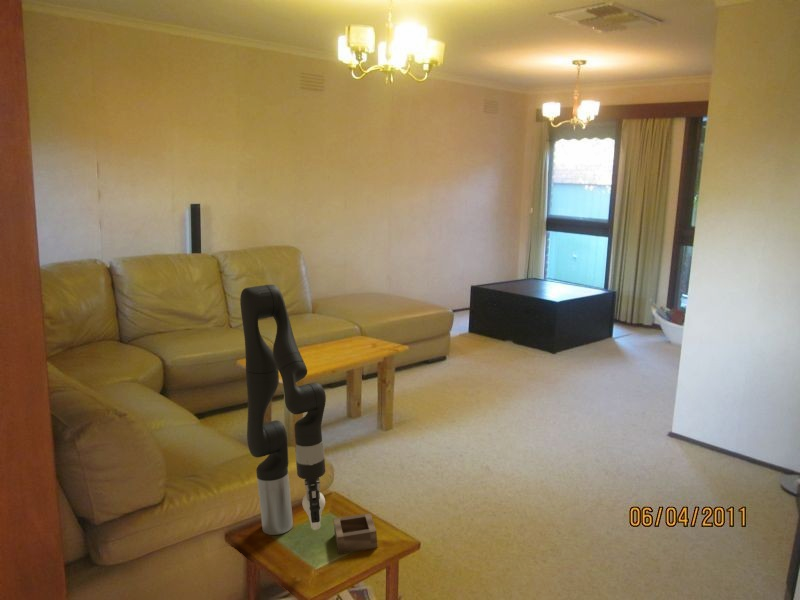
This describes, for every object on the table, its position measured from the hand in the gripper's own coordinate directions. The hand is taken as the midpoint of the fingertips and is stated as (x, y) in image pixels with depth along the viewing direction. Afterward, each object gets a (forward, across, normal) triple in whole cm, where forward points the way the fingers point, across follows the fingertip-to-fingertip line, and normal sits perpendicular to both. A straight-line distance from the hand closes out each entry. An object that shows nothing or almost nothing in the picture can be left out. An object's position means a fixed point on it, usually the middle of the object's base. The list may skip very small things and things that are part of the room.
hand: (314, 515), depth 175 cm
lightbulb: (+4, 0, 0) cm, 4 cm away
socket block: (+14, -8, +11) cm, 19 cm away
